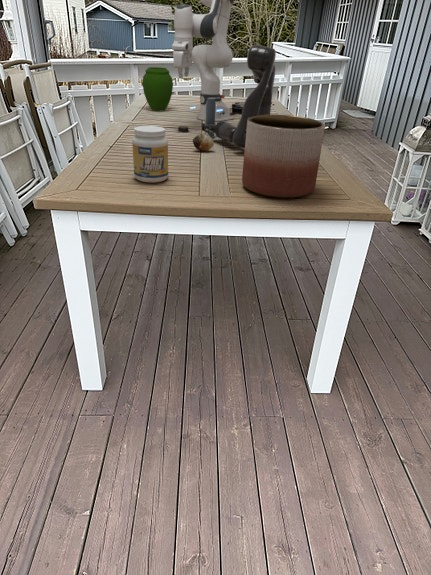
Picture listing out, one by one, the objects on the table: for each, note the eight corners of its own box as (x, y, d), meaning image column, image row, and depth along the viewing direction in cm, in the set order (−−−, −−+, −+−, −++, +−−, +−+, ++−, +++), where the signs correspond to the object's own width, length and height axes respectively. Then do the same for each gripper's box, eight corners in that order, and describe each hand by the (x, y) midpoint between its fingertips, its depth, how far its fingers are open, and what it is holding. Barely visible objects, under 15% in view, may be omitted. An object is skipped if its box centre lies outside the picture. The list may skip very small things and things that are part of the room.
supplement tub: (139, 184, 140) (136, 133, 131) (130, 174, 149) (127, 125, 140) (173, 181, 144) (172, 131, 135) (162, 172, 153) (161, 124, 144)
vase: (143, 107, 275) (142, 66, 262) (173, 108, 277) (172, 67, 264) (142, 112, 259) (140, 68, 246) (173, 113, 261) (173, 70, 248)
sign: (232, 108, 269) (231, 101, 294) (232, 113, 270) (230, 106, 296) (261, 109, 269) (257, 102, 295) (260, 114, 271) (257, 107, 296)
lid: (176, 130, 218) (176, 126, 217) (185, 129, 221) (185, 125, 219) (181, 132, 214) (181, 128, 213) (190, 131, 217) (190, 127, 216)
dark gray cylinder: (215, 137, 208) (217, 98, 199) (212, 138, 205) (213, 99, 195) (207, 136, 210) (208, 97, 200) (203, 137, 206) (204, 98, 196)
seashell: (212, 149, 186) (213, 131, 181) (214, 152, 181) (215, 133, 177) (191, 149, 184) (192, 130, 180) (193, 152, 180) (193, 133, 175)
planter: (325, 200, 135) (339, 130, 123) (251, 201, 131) (257, 128, 119) (299, 176, 156) (309, 114, 144) (234, 177, 152) (239, 113, 140)
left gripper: (183, 44, 206) (183, 75, 213) (170, 45, 189) (171, 79, 196) (195, 44, 204) (195, 75, 212) (183, 46, 188) (184, 79, 195)
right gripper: (239, 122, 193) (222, 116, 205) (212, 123, 187) (197, 117, 199) (238, 138, 197) (222, 132, 209) (212, 140, 191) (197, 133, 203)
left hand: (183, 77), depth 204 cm, fingers open, 8 cm apart
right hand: (210, 124), depth 204 cm, fingers open, 8 cm apart
